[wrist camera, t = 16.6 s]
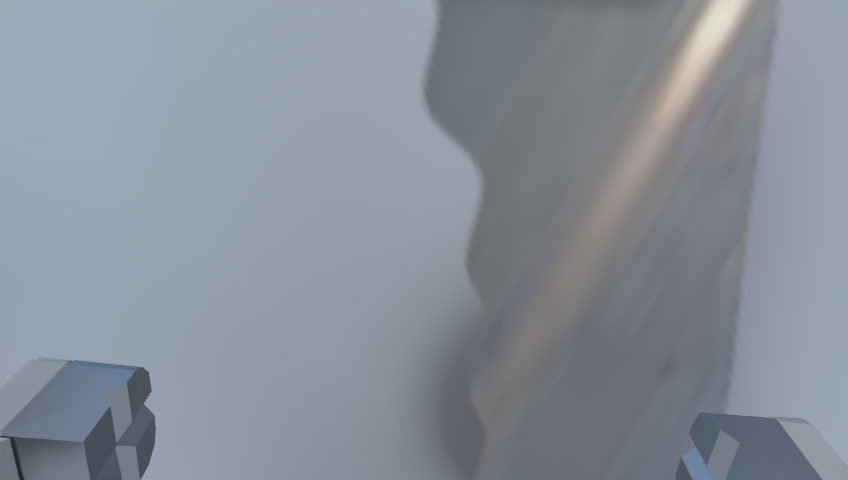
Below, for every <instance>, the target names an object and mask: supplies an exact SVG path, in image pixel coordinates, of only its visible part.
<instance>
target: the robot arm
mask: <svg viewBox="0 0 848 480" xmlns="http://www.w3.org/2000/svg"><path fill="white" fill-rule="evenodd" d="M151 391H152V390H151V384H150V378H149V372H147V371H146V370H145V369H144V368H143V367H134V366H124V365H115V364H105V363H96V362H86V361H76V360H75V361H70V360H63V359H51V358H37V359H34V360H31V361H29V362H28V363H27V364H26V365H25V366H24V367H23V368H22V369H21V370H20V371H19V372H18V373H17V374H16V375H15V376H14V377H13V378H12V379H11V380H10V381H9V382H8V383H7V384H6V385H4V386H3V387H2V388H1V389H0V480H141V478H142V476H143V475H144V473H145V471H146V469H147V467H148V465H149V462H150V458H151V455H152V451H153V448H154V445H155V431H156V427H155V417H154V414H153V413H152V412H151V411H150V410H149V409H148V408H147V407H146V406H145V405H144V402H145V401H146V399H147V397H148V396H149V394H150V393H151ZM689 434H690V436H691V438H692V440H693V442H694V444H695V446H694V447H693V448H692V449H690V450H689V451H688V452H687V453H685V454H684V455H683V456H681V459H680V462H679V466H678V469H677V473H676V480H848V466H847V465H846V464H845V463H844V461H843V460H842V459H841V458H840V457H839V456H838V454H837V453H836V452H835V451H834V450H833V449H832V447H831V446H830V445H829V444H828V443H827V441H826V440H825V439H824V438H823V436H822V435H821V434H820V433H819V432H818V430H817V429H816V428H815V427H814V426H813V425H812V424H811V423H809V422H807V421H806V420H804V419H801V418H783V417H767V418H764V417H752V416H739V415H726V414H712V413H700V414H699V415H698V416H697V418H696V419H695V420H694V422H693V425H692V428H691V430H690V433H689Z"/></svg>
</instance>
